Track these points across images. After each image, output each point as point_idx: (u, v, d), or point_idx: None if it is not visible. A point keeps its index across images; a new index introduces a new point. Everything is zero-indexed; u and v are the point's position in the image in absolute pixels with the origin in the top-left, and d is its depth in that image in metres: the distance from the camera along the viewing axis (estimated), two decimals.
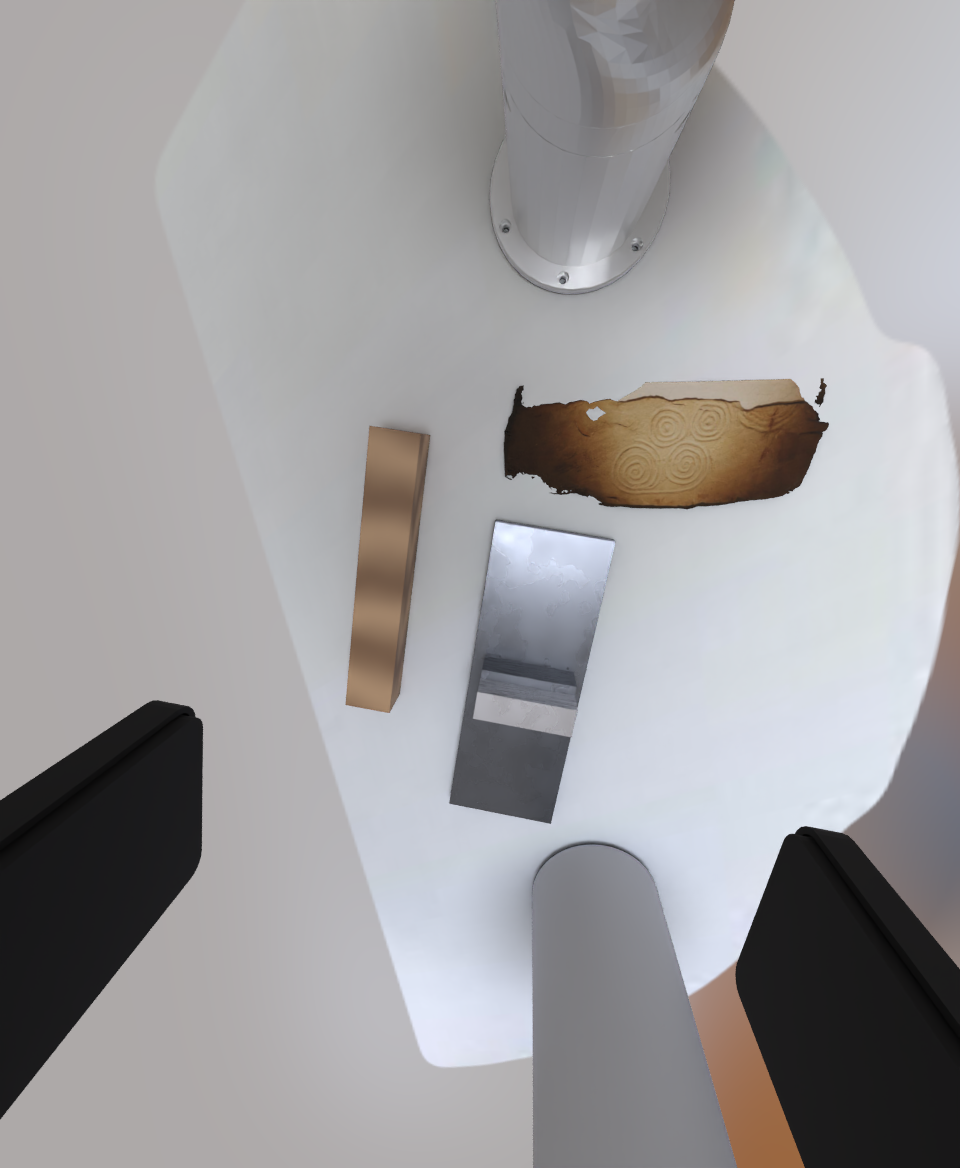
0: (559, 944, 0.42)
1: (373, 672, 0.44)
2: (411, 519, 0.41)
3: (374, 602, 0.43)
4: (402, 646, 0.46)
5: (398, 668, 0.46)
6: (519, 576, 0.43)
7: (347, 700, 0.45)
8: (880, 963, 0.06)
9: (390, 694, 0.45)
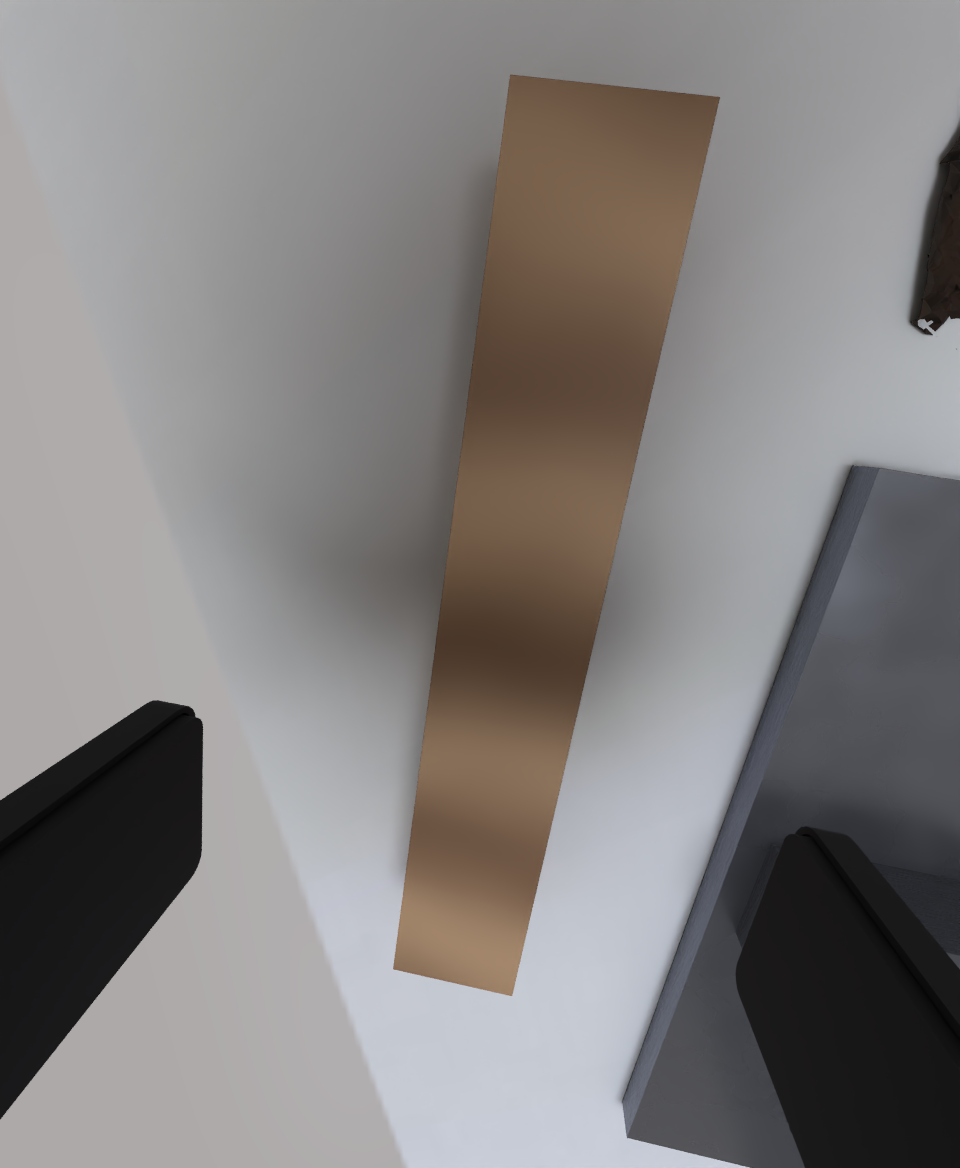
0: None
1: (474, 899, 0.16)
2: None
3: (489, 720, 0.14)
4: None
5: None
6: (922, 637, 0.14)
7: (398, 959, 0.17)
8: (880, 963, 0.06)
9: (518, 954, 0.16)
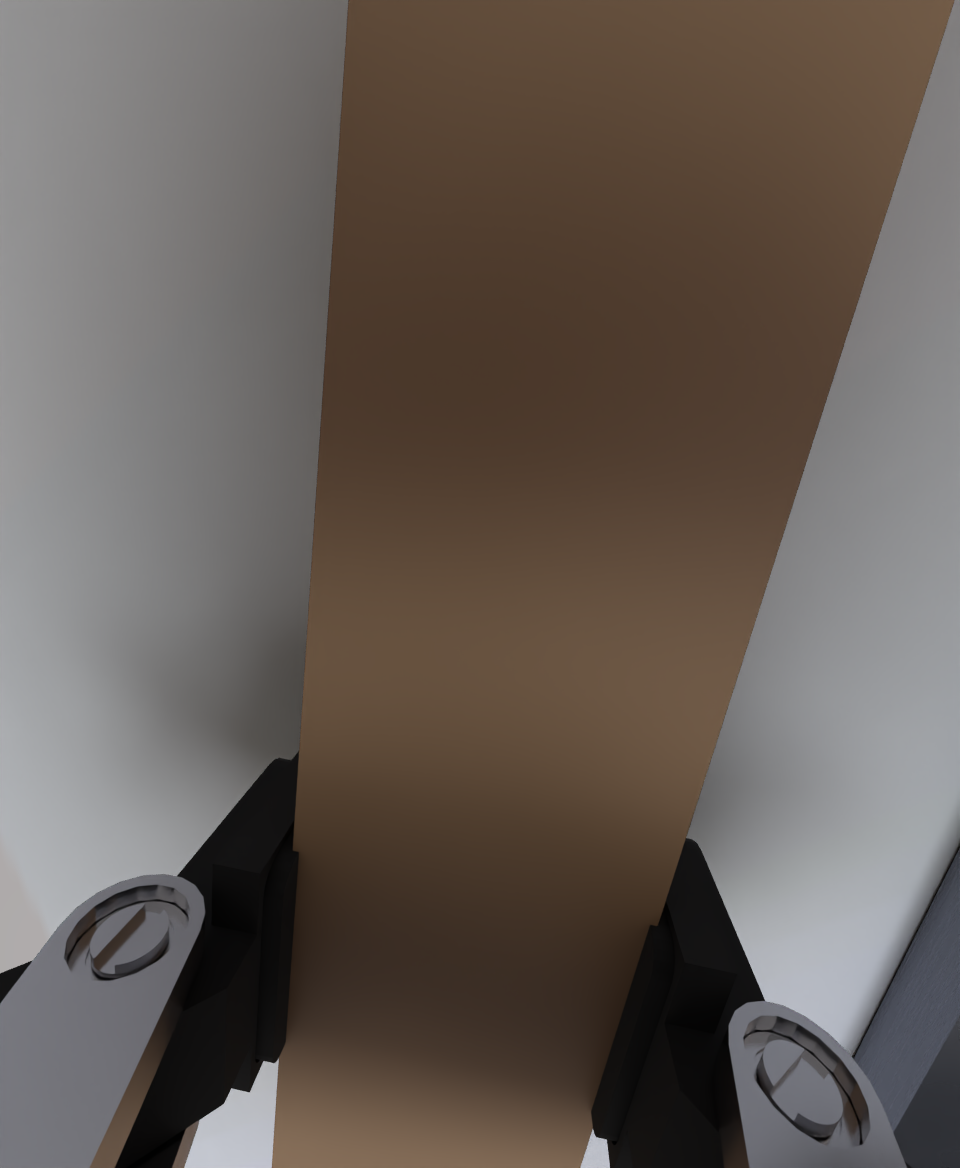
0: None
1: None
2: None
3: (409, 1103, 0.06)
4: None
5: None
6: None
7: None
8: None
9: None
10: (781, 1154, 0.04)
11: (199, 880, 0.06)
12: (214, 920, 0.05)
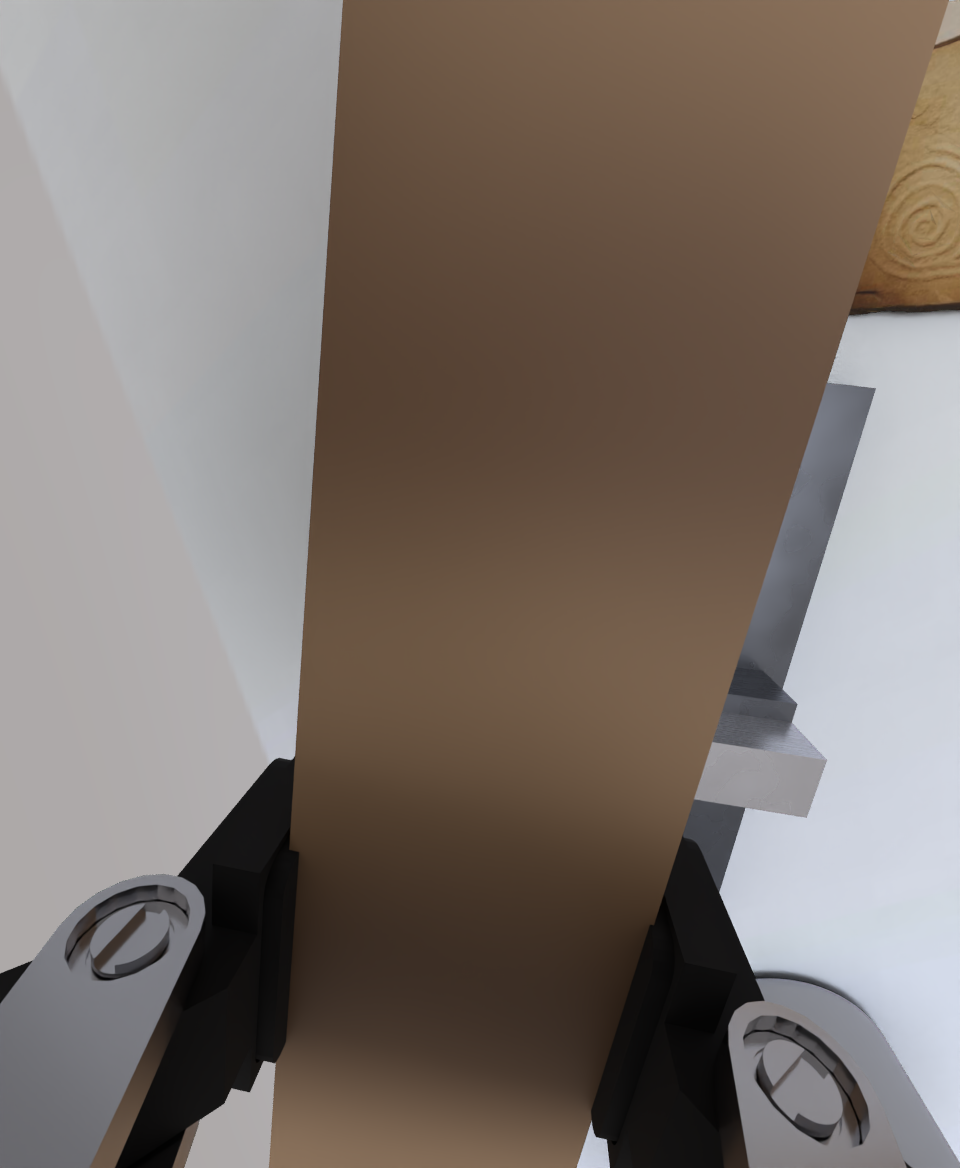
0: None
1: None
2: None
3: (406, 1104, 0.06)
4: None
5: None
6: None
7: None
8: None
9: None
10: (781, 1154, 0.04)
11: (199, 880, 0.06)
12: (214, 920, 0.05)
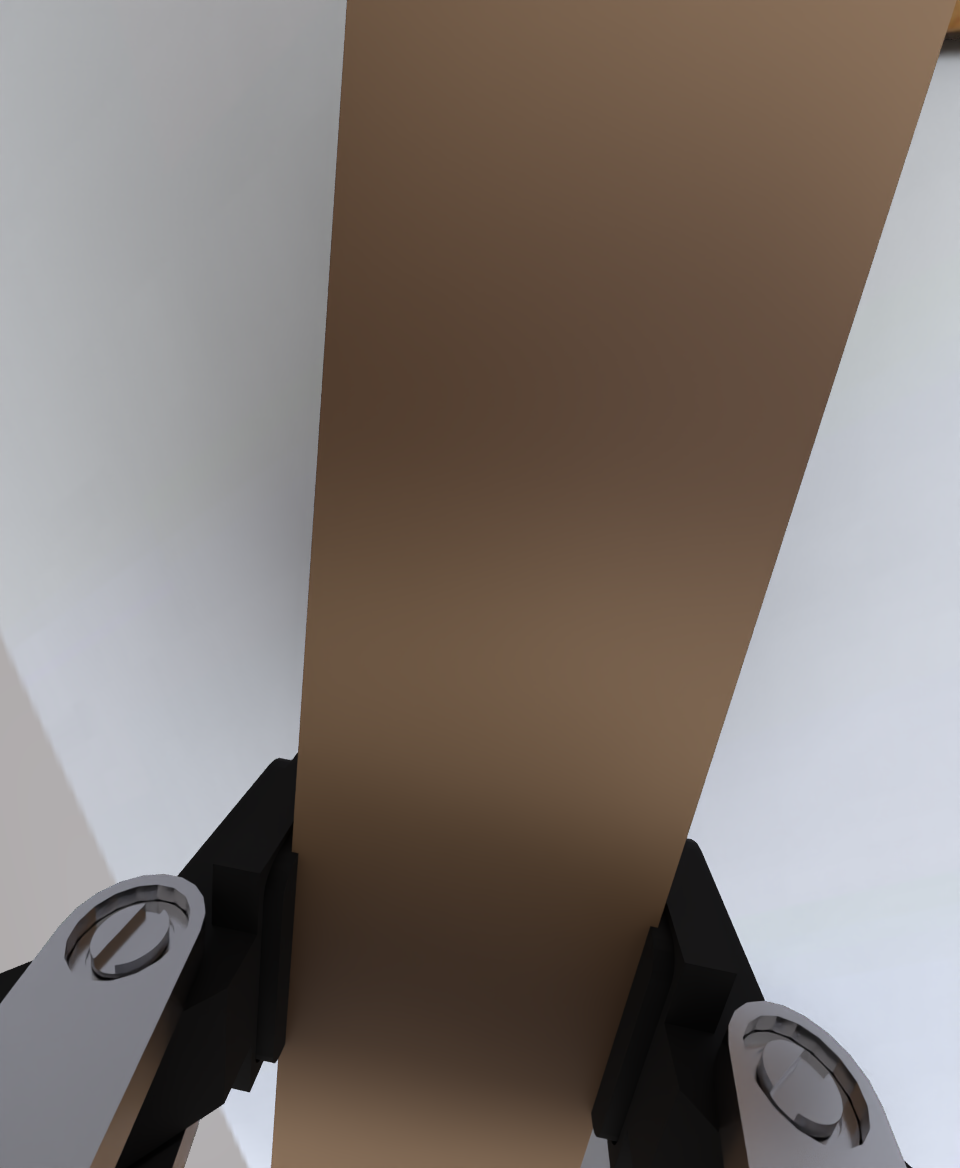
0: None
1: None
2: None
3: (408, 1108, 0.06)
4: None
5: None
6: None
7: None
8: None
9: None
10: (781, 1154, 0.04)
11: (199, 880, 0.06)
12: (214, 920, 0.05)
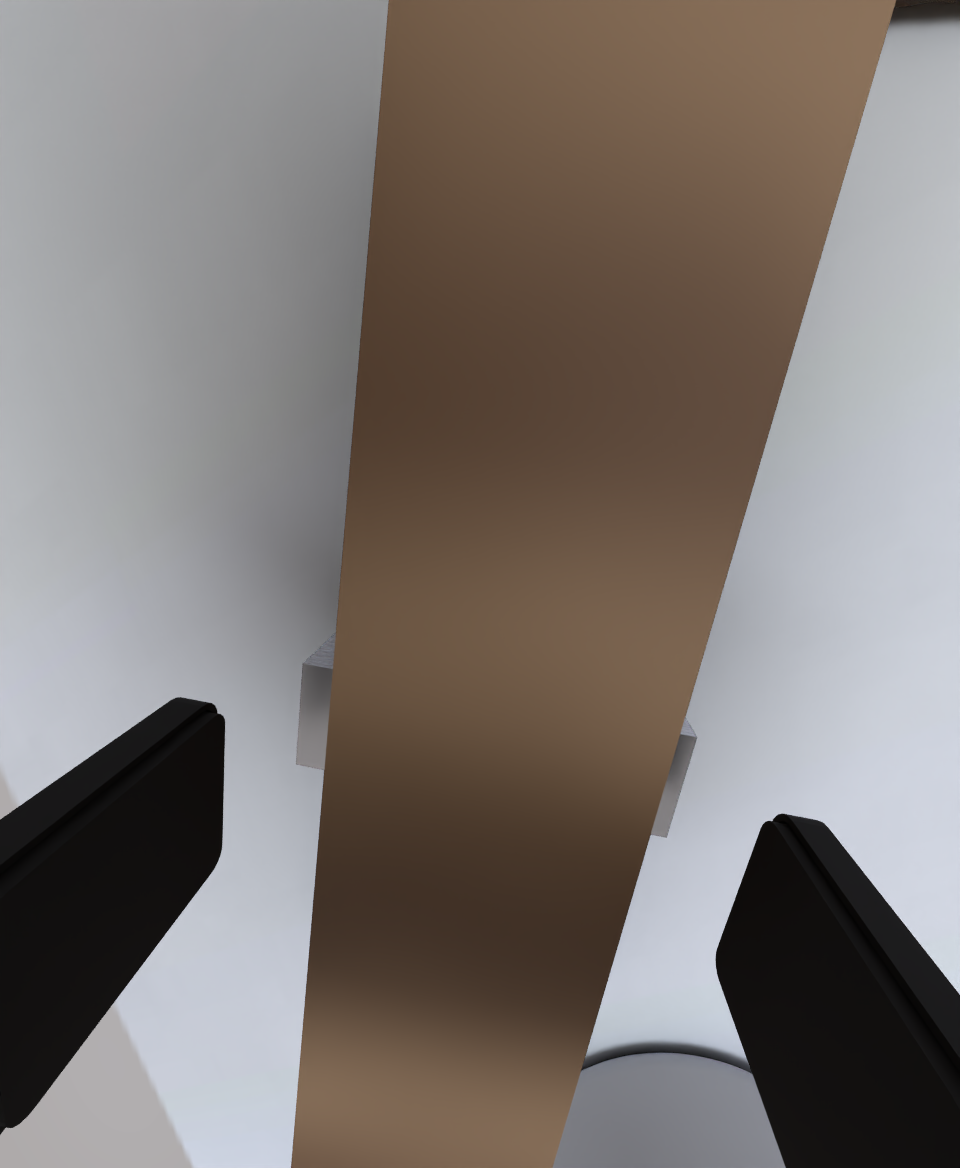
0: None
1: None
2: None
3: (422, 1033, 0.07)
4: None
5: None
6: None
7: None
8: (846, 941, 0.06)
9: None
10: None
11: None
12: None
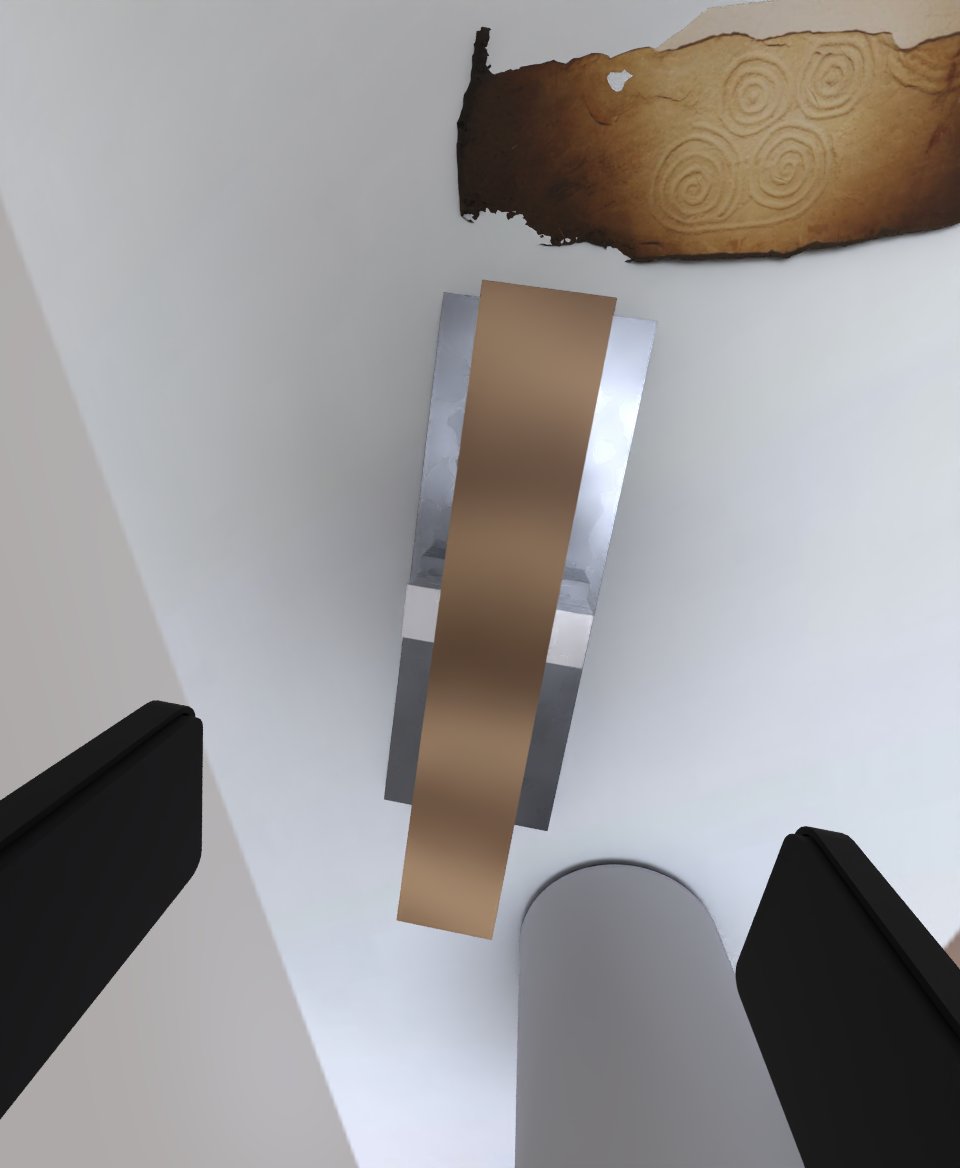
0: (563, 1053, 0.23)
1: (461, 858, 0.20)
2: None
3: (471, 713, 0.19)
4: None
5: None
6: None
7: (400, 912, 0.21)
8: (880, 963, 0.06)
9: (496, 903, 0.21)
10: None
11: None
12: None
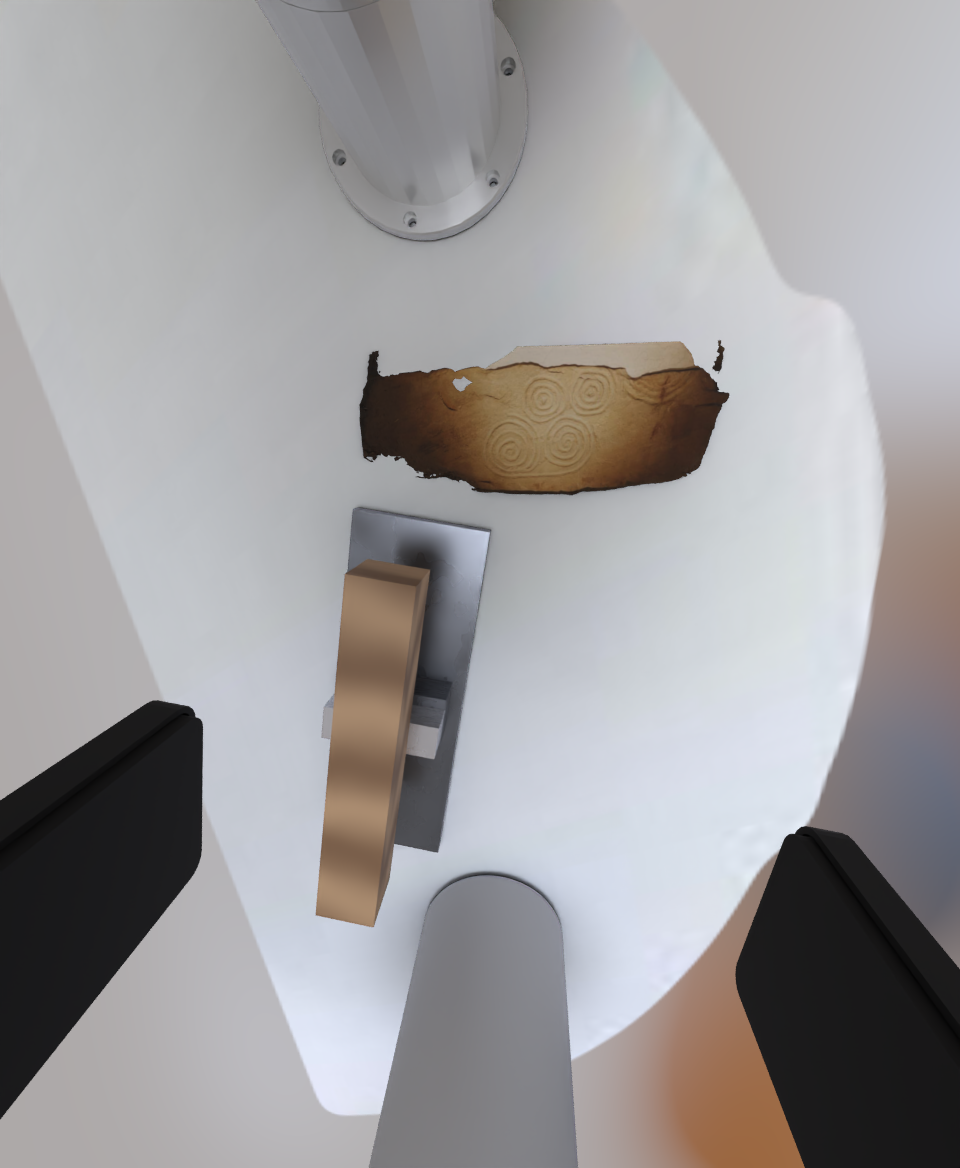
0: (424, 998, 0.36)
1: (352, 878, 0.33)
2: (403, 693, 0.30)
3: (353, 795, 0.32)
4: (391, 834, 0.35)
5: (386, 864, 0.35)
6: None
7: (318, 910, 0.34)
8: (880, 963, 0.06)
9: (374, 905, 0.34)
10: None
11: None
12: None
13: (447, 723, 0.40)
